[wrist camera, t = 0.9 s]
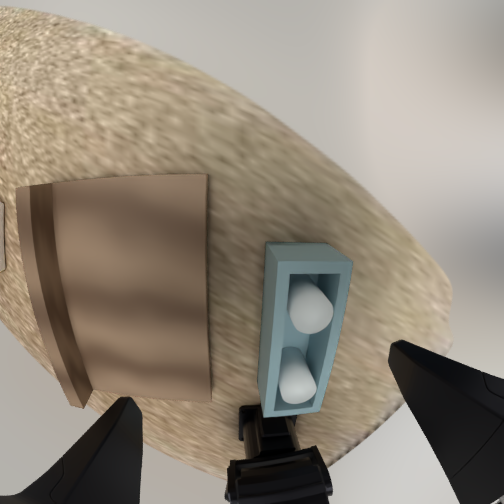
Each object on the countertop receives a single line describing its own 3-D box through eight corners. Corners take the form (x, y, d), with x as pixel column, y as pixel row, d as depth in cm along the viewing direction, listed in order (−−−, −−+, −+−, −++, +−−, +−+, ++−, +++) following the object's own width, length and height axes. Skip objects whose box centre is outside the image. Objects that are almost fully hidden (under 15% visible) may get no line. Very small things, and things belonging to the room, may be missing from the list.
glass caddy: (305, 377, 25) (320, 415, 20) (257, 380, 25) (264, 421, 19) (326, 243, 22) (356, 263, 16) (265, 241, 21) (279, 263, 16)
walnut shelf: (211, 388, 24) (211, 425, 20) (87, 375, 23) (70, 405, 18) (208, 174, 19) (202, 173, 14) (51, 183, 18) (15, 188, 13)
